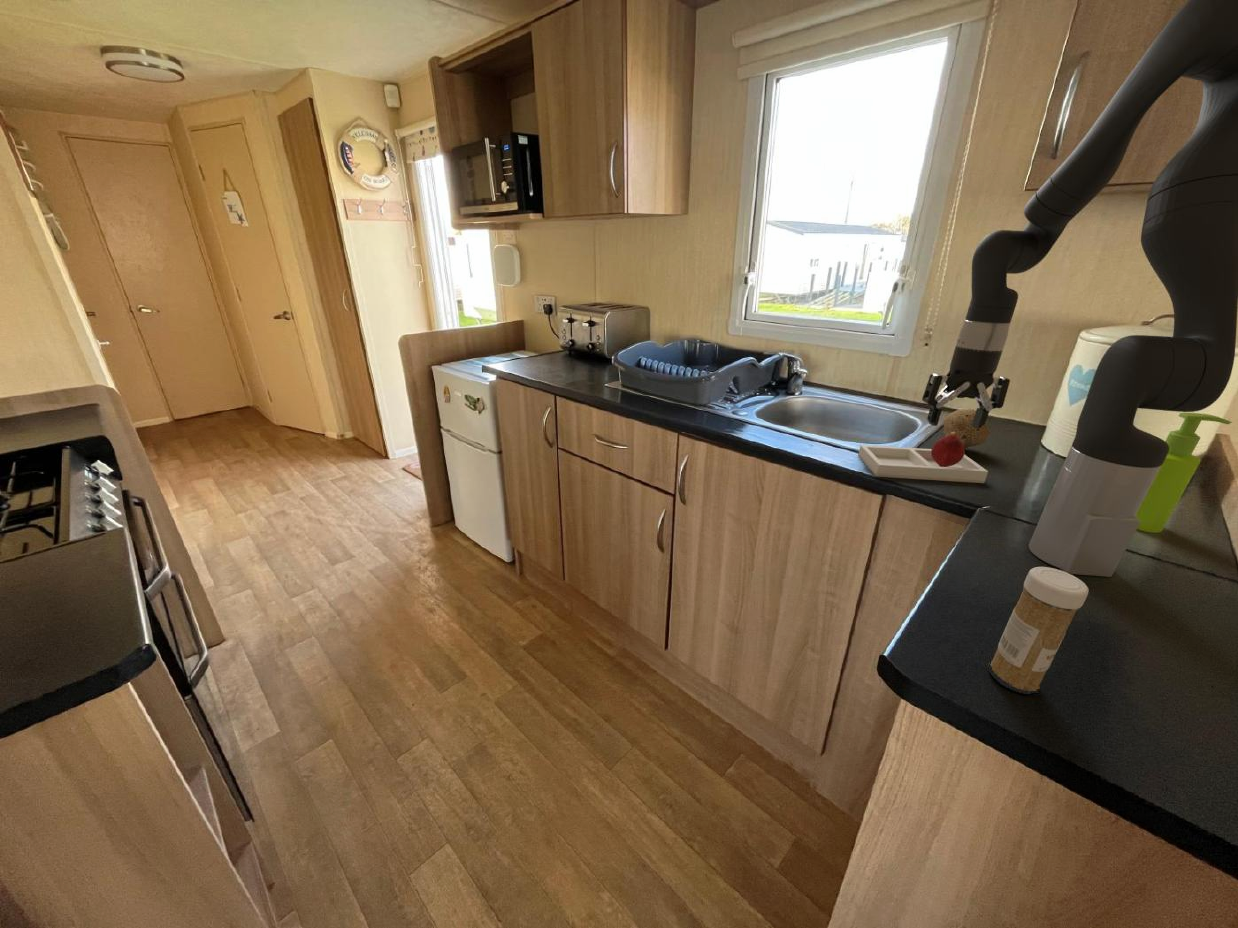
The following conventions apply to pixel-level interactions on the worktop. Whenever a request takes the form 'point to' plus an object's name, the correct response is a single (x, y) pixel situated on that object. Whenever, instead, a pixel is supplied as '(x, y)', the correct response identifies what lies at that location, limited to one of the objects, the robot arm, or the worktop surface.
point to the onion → (948, 450)
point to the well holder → (918, 465)
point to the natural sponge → (966, 428)
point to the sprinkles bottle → (1037, 626)
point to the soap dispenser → (1173, 473)
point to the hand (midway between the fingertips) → (954, 425)
